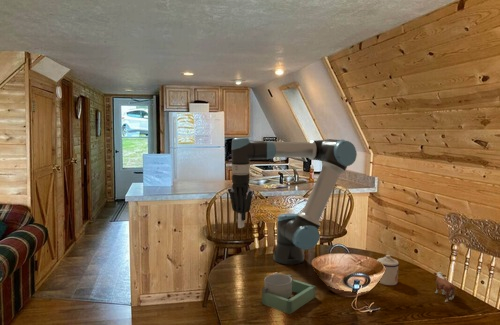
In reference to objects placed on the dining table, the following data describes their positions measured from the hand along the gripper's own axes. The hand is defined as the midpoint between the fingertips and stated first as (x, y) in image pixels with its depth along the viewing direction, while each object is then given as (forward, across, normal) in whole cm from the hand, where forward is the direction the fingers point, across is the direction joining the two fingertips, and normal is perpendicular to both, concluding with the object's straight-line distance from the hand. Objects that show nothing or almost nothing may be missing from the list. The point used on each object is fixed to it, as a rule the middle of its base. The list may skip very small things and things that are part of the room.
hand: (241, 227), depth 169 cm
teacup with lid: (+24, +53, +34) cm, 68 cm away
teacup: (+23, +23, -8) cm, 33 cm away
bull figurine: (+24, +76, +32) cm, 86 cm away
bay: (+23, +29, -8) cm, 37 cm away
